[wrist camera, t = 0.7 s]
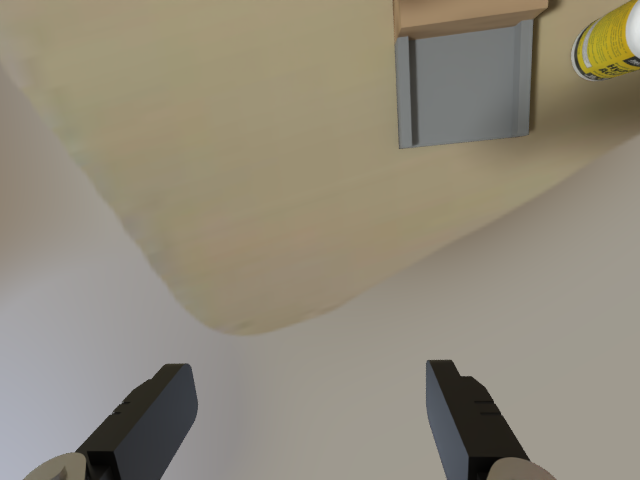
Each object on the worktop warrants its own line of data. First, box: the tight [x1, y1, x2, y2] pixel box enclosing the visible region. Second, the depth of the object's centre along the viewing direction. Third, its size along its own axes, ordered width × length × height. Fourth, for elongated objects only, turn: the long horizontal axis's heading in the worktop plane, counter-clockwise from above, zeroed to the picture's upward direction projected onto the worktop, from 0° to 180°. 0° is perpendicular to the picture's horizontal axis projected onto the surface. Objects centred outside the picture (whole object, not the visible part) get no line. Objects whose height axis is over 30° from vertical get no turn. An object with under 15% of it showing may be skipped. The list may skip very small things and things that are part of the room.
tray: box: [395, 19, 533, 149], centre depth 32 cm, size 10×12×2 cm
